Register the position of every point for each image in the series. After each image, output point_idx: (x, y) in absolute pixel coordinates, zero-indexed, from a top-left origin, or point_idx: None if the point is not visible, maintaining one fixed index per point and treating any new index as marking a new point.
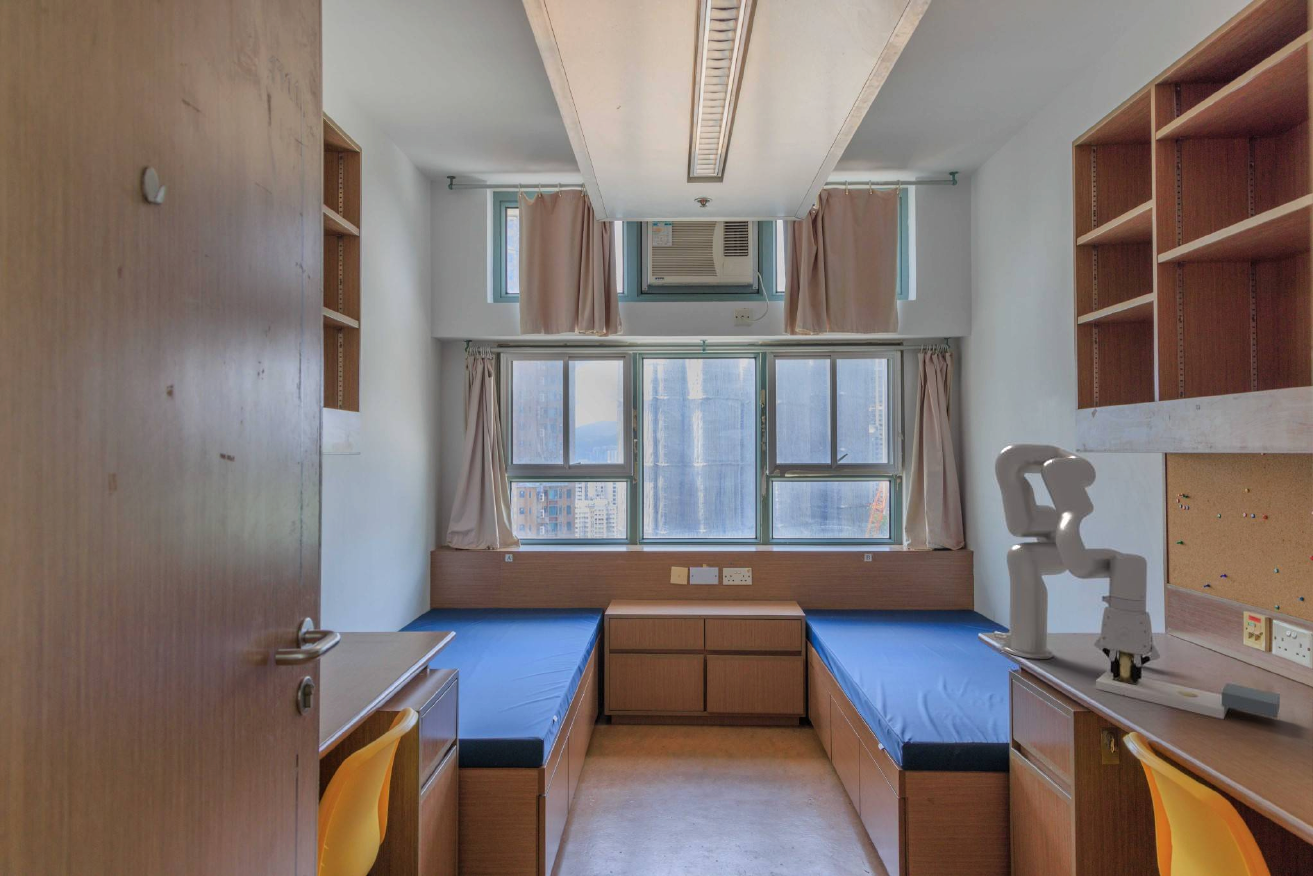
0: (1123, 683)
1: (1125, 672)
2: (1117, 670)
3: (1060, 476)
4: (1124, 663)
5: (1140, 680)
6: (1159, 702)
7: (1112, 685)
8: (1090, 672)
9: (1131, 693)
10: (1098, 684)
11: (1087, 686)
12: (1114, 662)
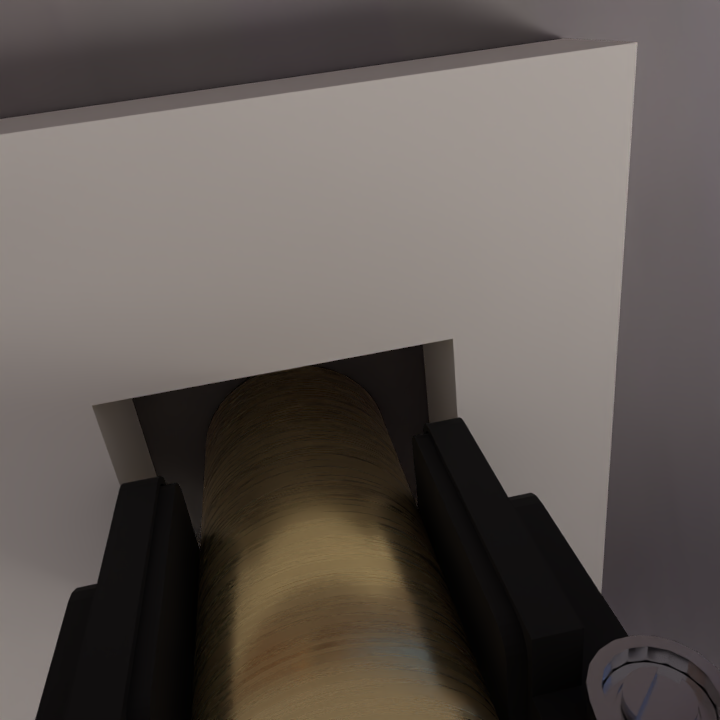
0: (260, 326)
1: (289, 539)
2: (448, 562)
3: None
4: (337, 703)
5: None
6: None
7: (358, 85)
8: (712, 616)
9: (45, 117)
10: (566, 45)
11: (679, 46)
12: (553, 627)
